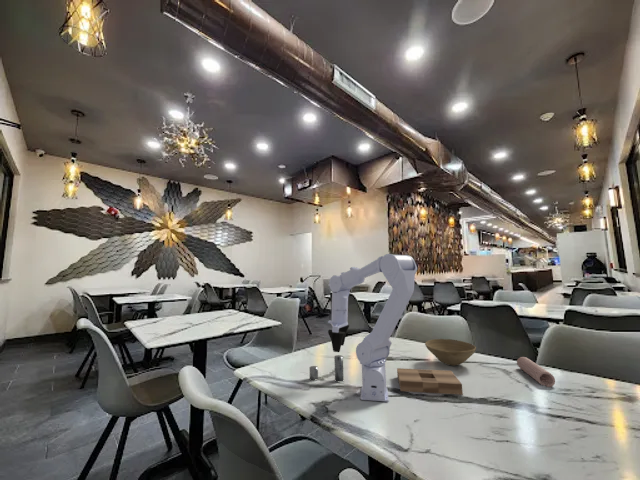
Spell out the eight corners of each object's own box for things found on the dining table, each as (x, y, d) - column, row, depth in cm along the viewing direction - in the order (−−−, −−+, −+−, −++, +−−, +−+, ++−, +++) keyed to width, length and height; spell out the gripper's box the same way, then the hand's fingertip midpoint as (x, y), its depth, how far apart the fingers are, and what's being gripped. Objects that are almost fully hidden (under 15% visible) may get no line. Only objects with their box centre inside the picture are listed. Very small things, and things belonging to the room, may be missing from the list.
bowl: (473, 376, 98) (471, 352, 99) (420, 366, 109) (419, 345, 110) (480, 362, 113) (479, 342, 114) (433, 355, 124) (432, 336, 125)
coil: (556, 373, 88) (530, 357, 105) (538, 371, 89) (516, 355, 107) (556, 389, 88) (530, 370, 105) (538, 386, 89) (516, 367, 106)
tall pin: (343, 382, 95) (342, 357, 96) (334, 381, 96) (333, 357, 96) (344, 379, 98) (343, 355, 99) (335, 378, 98) (335, 355, 99)
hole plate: (462, 394, 84) (461, 384, 84) (400, 391, 87) (400, 380, 87) (451, 379, 95) (451, 370, 96) (397, 377, 99) (397, 368, 99)
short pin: (317, 381, 97) (317, 368, 97) (308, 380, 97) (308, 368, 98) (318, 377, 100) (318, 366, 100) (310, 377, 100) (310, 365, 101)
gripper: (333, 305, 108) (331, 341, 107) (323, 312, 94) (322, 353, 93) (351, 306, 106) (350, 343, 105) (344, 313, 92) (343, 356, 91)
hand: (338, 348), depth 99 cm, fingers open, 7 cm apart
